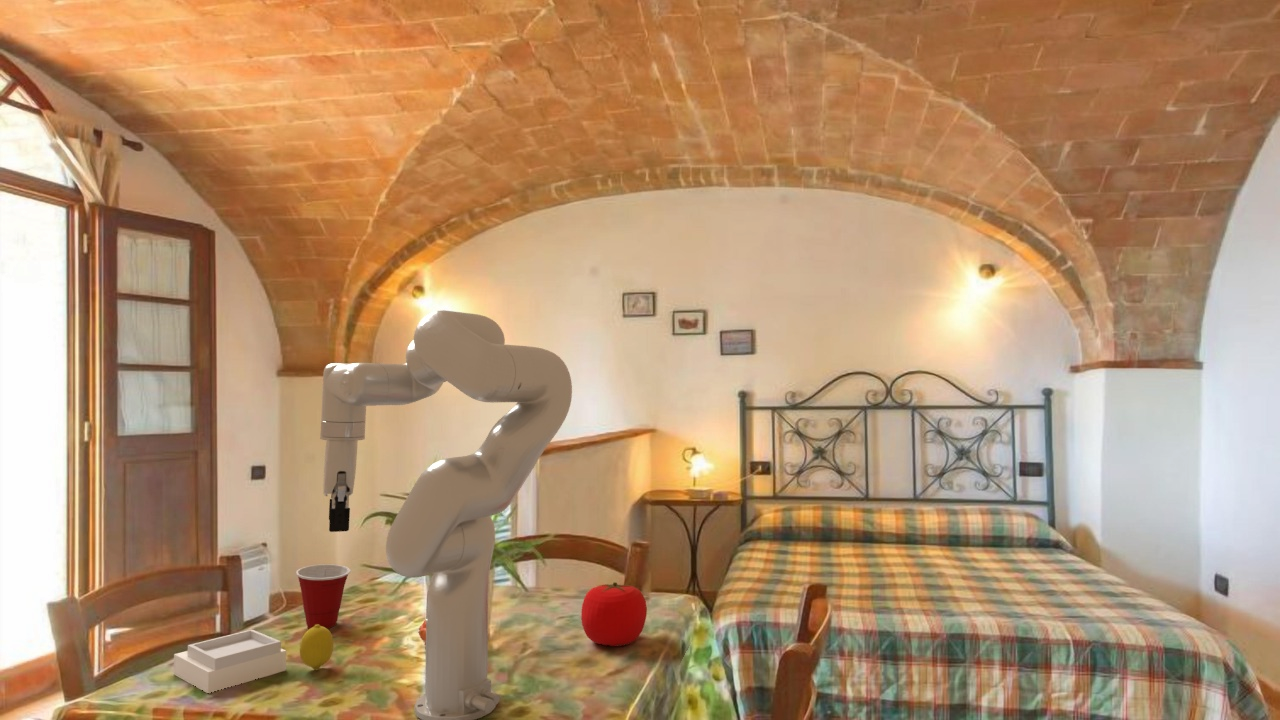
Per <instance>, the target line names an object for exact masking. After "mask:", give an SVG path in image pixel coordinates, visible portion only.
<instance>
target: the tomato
mask: <svg viewBox="0 0 1280 720" xmlns="http://www.w3.org/2000/svg"><path fill="white" fill-rule="evenodd" d="M647 612H648V607H647V602H646V599H645V596H644V594H643V592H642V591H641V590H640V589H639V588H637V587H635V586H634V585H629V584H618V582H613V583H611V584H608V583H607V584H600V585H596V586H594V587H591V589H590V590H589V591H587V593H586V595H585V596H584V598H583V601H582V605H581V615H580V616H581V617H580V618H581V625H582V628H583V631H584V633H585V635H586V637H587V638H588V639H589V640H590V641H592V642H594V643H596V644H598V645H601V644H602V645H603V646H607V645H610V646H609V647H618V646H617V645H623V646H625V645H624V644H626V645H629V644H628V643H630V644H632V643H633V642H634V641H636V640H637V639H638V638H639V636H640V635H641V633H642V632H643V629H644V627H645V624H646V619H647V614H648V613H647ZM631 642H632V643H631Z"/></svg>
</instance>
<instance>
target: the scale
mask: <svg viewBox="0 0 1280 720" xmlns="http://www.w3.org/2000/svg"><path fill="white" fill-rule="evenodd" d="M285 671H287V650H286V649H283V648H282V641H281V640H279V639H276V638H274V637H271V636H269V635H267V634H264V633H261V632H260V631H257V630H254V629H248V630H244V631H241V632H235V633H232V634H228V635H223V636H219V637H216V638H215V637H214V638H212V639H207V640H204V641H200V642H195V643H191V644H187V650H185V651H182V652H178V653H174V654H173V675H174V676H176V677H178V678H179V679H181V680H183V681H185V682H186V683H187V684H189V685H192V686H193V685H194V687H195V686H196V687H195V688H197V689H198V690H201V691H202V690H203V691H202V692H205V693H206V694H207V693H209V694H211V692H212V693H215V692H214V691H216V692H218V691H217V690H219V691H222V690H225V689H224V688H226V689H228V688H227V687H229V688H231V686H232V687H236V686H238V685H242V684H245V683H246V684H247V683H248V682H252V681H256V680H259V679H261V678H265V677H269V676H272V675H275V674H279V673H281V672H285ZM258 678H259V679H258ZM255 679H256V680H255ZM241 683H242V684H241ZM235 685H236V686H235ZM221 689H222V690H221Z"/></svg>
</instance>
